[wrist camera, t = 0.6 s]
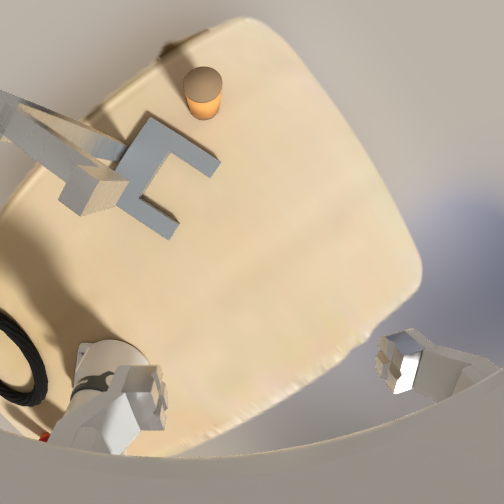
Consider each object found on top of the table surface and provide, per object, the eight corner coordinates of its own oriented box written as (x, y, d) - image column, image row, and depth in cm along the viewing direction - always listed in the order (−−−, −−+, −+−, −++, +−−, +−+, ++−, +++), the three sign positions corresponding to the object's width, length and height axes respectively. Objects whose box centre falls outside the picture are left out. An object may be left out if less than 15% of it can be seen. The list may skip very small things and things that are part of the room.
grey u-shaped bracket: (170, 238, 48) (168, 240, 47) (104, 194, 45) (100, 194, 43) (220, 163, 47) (221, 162, 45) (152, 119, 44) (150, 116, 42)
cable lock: (65, 400, 49) (4, 415, 48) (71, 391, 53) (9, 408, 52) (-4, 295, 42) (-52, 332, 41) (5, 289, 46) (-44, 327, 45)
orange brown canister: (207, 125, 45) (206, 107, 34) (183, 110, 44) (175, 88, 32) (225, 102, 45) (230, 78, 33) (201, 87, 43) (199, 60, 32)
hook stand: (169, 195, 47) (76, 225, 13) (107, 153, 44) (-48, 121, 9) (179, 179, 47) (104, 171, 12) (116, 138, 43) (-28, 79, 9)
